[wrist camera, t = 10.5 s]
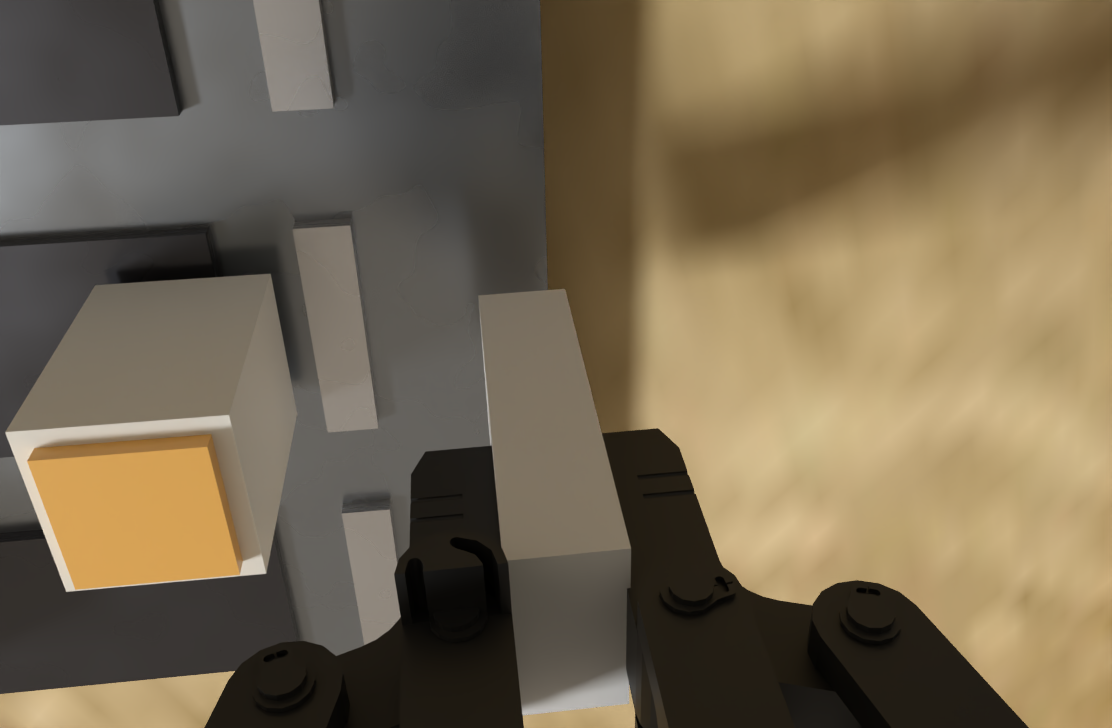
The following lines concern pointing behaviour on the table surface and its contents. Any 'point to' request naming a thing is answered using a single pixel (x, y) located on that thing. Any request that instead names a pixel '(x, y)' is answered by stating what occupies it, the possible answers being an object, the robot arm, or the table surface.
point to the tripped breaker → (161, 433)
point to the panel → (267, 248)
